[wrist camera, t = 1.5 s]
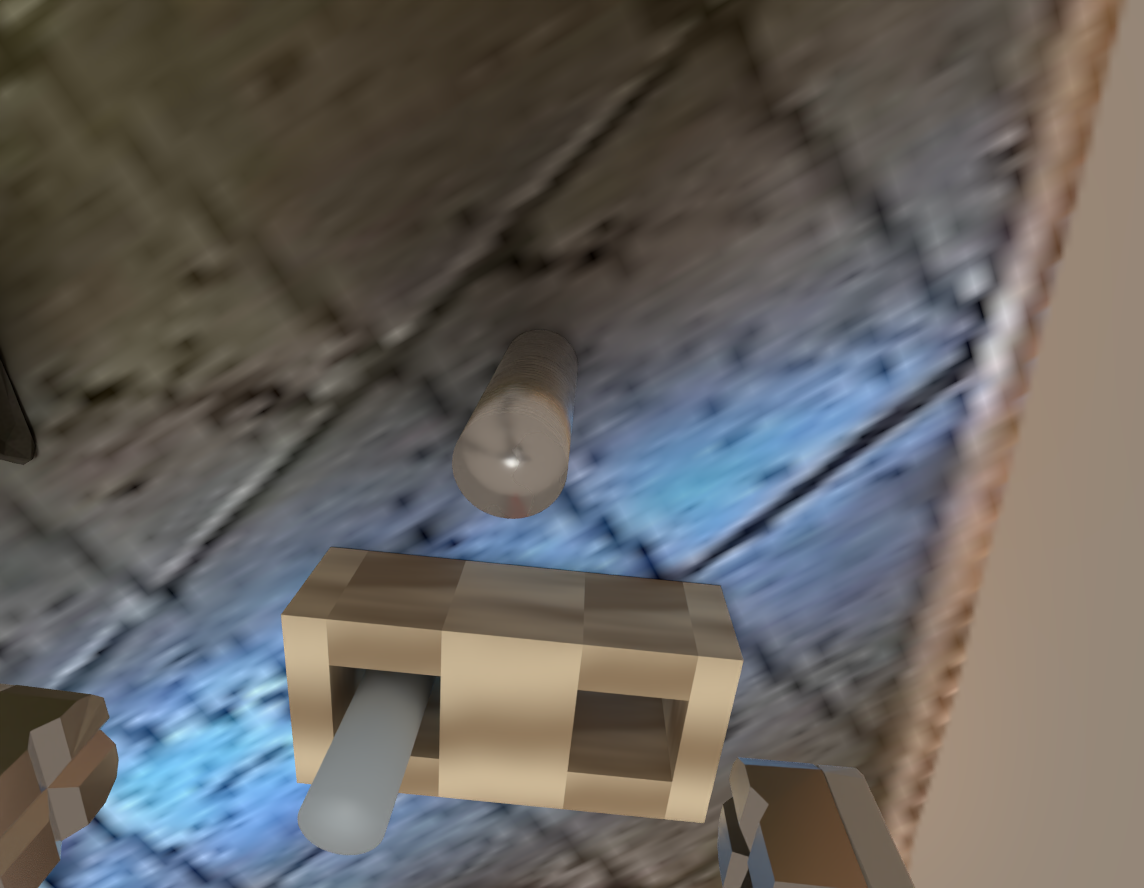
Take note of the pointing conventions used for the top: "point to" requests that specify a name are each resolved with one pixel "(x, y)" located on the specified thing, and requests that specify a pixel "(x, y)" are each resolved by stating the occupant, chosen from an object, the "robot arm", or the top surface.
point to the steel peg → (521, 429)
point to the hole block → (523, 679)
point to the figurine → (13, 426)
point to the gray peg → (365, 763)
